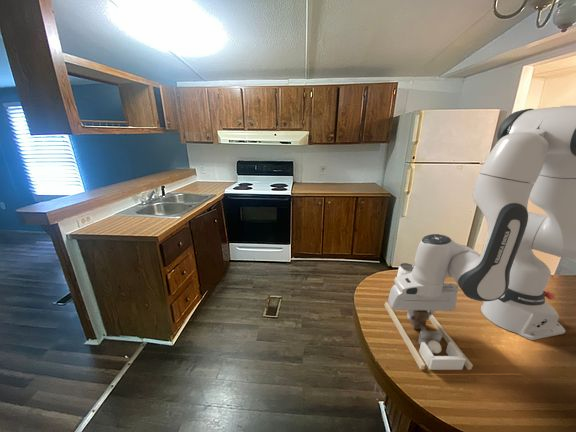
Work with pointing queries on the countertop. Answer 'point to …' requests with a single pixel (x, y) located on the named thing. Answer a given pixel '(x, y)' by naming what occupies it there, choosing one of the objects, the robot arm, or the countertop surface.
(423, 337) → the block
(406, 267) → the can
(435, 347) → the ball
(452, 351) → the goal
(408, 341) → the pitch
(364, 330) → the countertop surface
